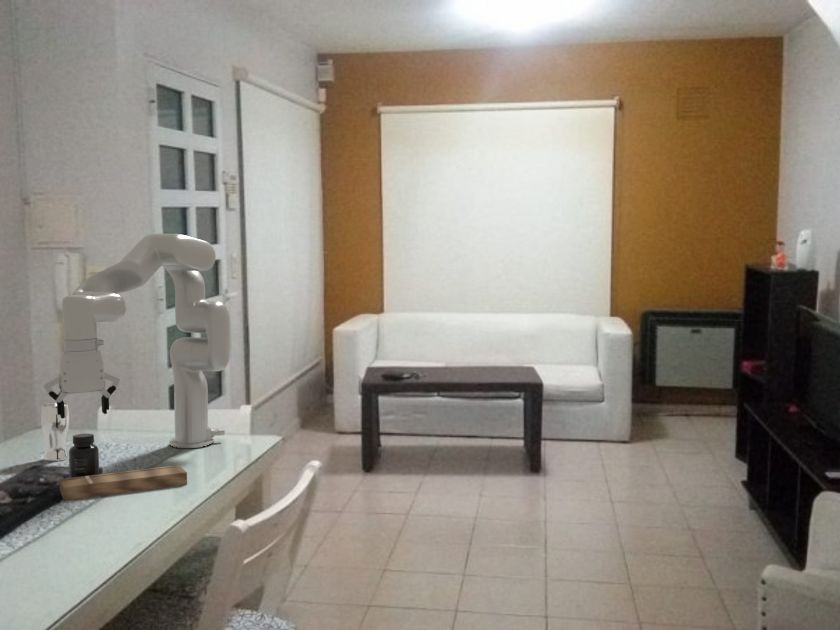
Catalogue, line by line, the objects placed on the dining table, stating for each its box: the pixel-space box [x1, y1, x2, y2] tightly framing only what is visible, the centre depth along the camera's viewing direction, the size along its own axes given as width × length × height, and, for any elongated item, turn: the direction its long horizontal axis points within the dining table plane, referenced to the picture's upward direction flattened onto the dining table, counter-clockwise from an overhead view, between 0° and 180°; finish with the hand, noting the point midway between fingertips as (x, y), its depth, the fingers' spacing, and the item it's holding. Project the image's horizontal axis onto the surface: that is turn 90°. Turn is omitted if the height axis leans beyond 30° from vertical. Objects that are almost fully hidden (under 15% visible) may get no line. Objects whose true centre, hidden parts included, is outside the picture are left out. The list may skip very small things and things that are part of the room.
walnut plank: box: [59, 464, 188, 501], centre depth 204 cm, size 28×8×3 cm, turn 119°
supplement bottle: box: [68, 433, 100, 478], centre depth 207 cm, size 7×7×12 cm
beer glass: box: [40, 402, 70, 462], centre depth 231 cm, size 7×7×15 cm
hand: (83, 415), depth 207 cm, fingers open, 9 cm apart
